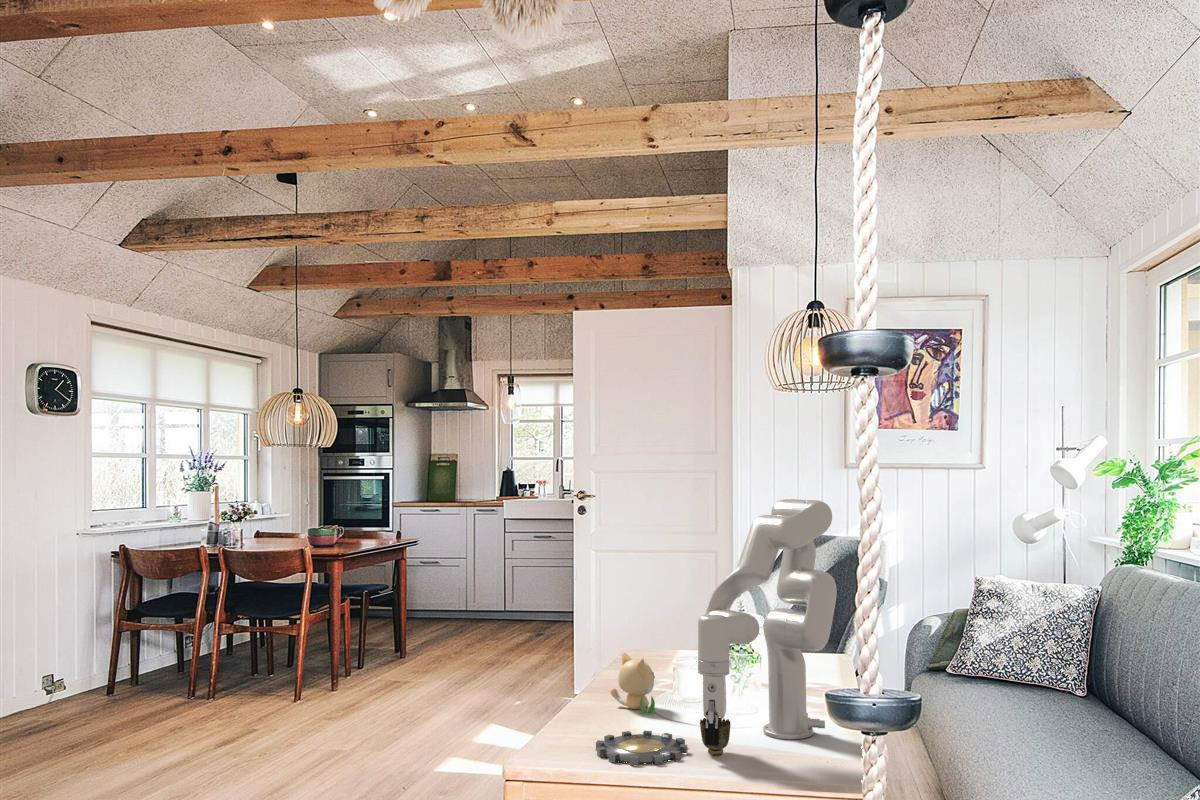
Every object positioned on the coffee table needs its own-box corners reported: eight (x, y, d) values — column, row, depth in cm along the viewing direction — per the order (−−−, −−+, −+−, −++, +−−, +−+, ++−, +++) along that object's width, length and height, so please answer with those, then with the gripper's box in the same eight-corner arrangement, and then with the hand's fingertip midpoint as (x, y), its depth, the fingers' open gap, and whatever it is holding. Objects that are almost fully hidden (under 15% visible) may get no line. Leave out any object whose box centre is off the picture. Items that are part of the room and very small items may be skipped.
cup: (730, 760, 230) (729, 726, 230) (698, 758, 231) (698, 724, 232) (732, 750, 237) (731, 717, 238) (701, 749, 239) (701, 716, 239)
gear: (691, 740, 247) (691, 732, 247) (681, 768, 225) (681, 760, 225) (605, 736, 251) (605, 728, 251) (587, 763, 229) (587, 755, 229)
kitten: (667, 711, 274) (666, 657, 274) (638, 717, 268) (637, 661, 269) (637, 700, 286) (636, 648, 287) (608, 705, 281) (608, 652, 282)
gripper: (727, 675, 226) (727, 750, 225) (731, 660, 243) (731, 731, 242) (694, 673, 228) (694, 748, 226) (701, 659, 244) (701, 729, 243)
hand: (713, 739), depth 234 cm, fingers open, 9 cm apart
